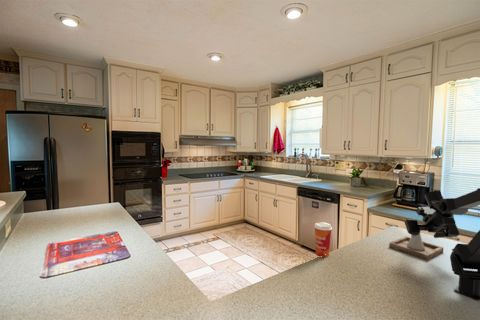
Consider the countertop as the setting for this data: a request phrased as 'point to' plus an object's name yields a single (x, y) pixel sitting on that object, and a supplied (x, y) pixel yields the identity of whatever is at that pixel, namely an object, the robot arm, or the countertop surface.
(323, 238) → the paper cup
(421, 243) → the flask
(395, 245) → the walnut tray
